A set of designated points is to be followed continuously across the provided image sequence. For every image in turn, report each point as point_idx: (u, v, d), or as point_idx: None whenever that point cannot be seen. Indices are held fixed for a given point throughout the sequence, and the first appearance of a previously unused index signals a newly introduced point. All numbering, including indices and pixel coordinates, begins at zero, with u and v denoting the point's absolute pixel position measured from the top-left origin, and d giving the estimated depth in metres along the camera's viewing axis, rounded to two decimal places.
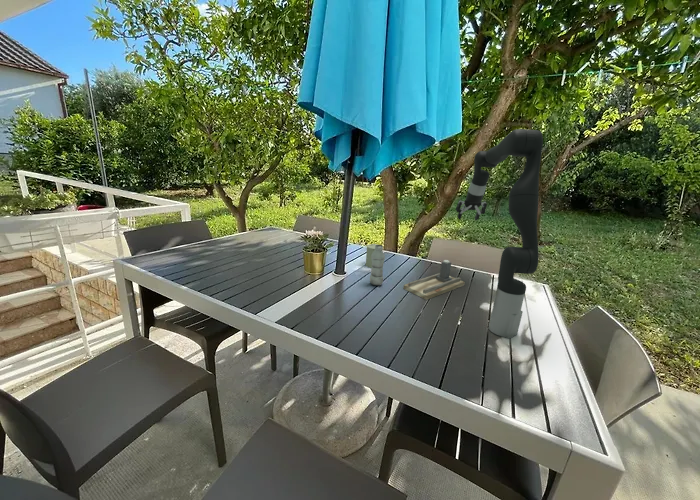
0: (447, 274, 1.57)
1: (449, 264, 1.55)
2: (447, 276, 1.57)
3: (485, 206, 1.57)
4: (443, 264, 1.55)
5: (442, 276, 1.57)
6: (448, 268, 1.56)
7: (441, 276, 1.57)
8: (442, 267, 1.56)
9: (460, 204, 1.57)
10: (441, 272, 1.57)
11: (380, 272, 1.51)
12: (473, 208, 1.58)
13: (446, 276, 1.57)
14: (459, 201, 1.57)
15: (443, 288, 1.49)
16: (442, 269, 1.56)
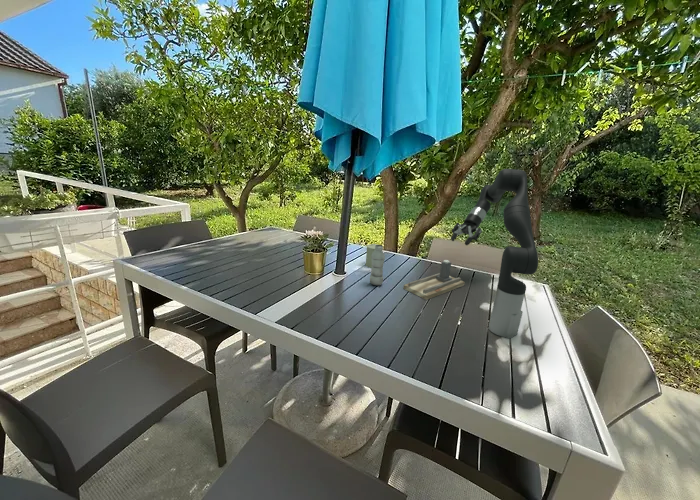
0: (447, 274, 1.57)
1: (449, 264, 1.55)
2: (447, 276, 1.57)
3: (478, 230, 1.55)
4: (443, 264, 1.55)
5: (442, 276, 1.57)
6: (448, 268, 1.56)
7: (441, 276, 1.57)
8: (442, 267, 1.56)
9: (456, 224, 1.64)
10: (441, 272, 1.57)
11: (380, 272, 1.51)
12: (467, 230, 1.59)
13: (446, 276, 1.57)
14: None
15: (443, 288, 1.49)
16: (442, 269, 1.56)
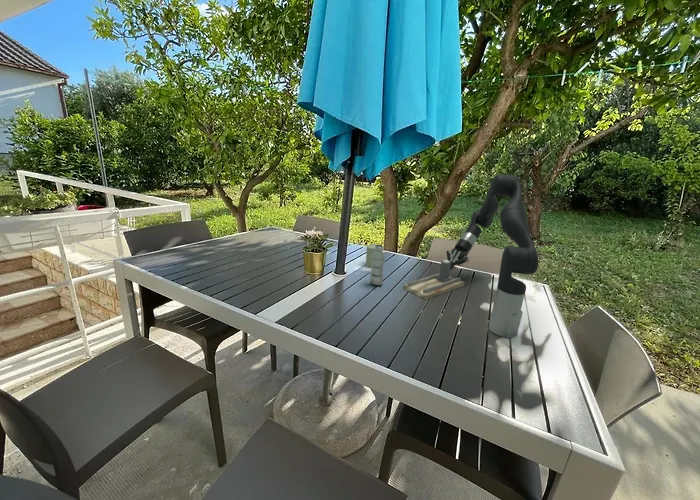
0: (447, 274, 1.57)
1: (449, 264, 1.55)
2: (447, 276, 1.57)
3: (464, 258, 1.56)
4: (443, 265, 1.55)
5: (442, 276, 1.57)
6: (448, 268, 1.56)
7: (441, 276, 1.57)
8: (442, 267, 1.56)
9: (447, 252, 1.63)
10: (441, 272, 1.57)
11: (380, 272, 1.51)
12: (456, 254, 1.60)
13: (446, 276, 1.57)
14: (447, 252, 1.65)
15: (443, 288, 1.49)
16: (442, 269, 1.56)
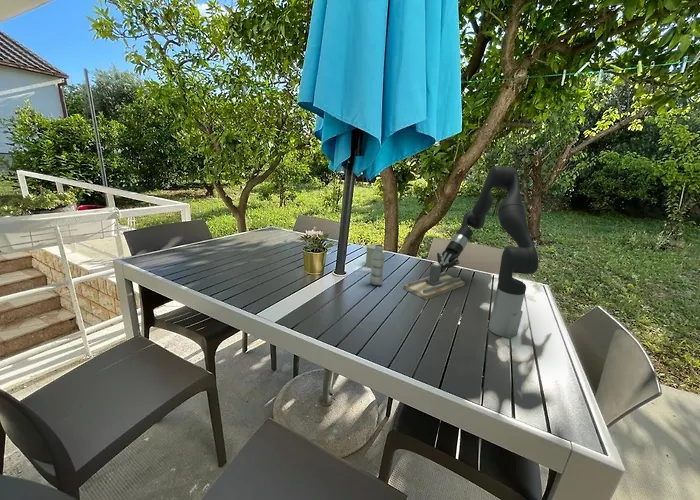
0: (437, 277, 1.52)
1: (439, 267, 1.51)
2: (437, 279, 1.53)
3: (455, 261, 1.51)
4: (433, 267, 1.50)
5: (432, 279, 1.52)
6: (438, 271, 1.51)
7: (431, 279, 1.52)
8: (432, 270, 1.51)
9: (438, 254, 1.59)
10: (431, 275, 1.52)
11: (380, 272, 1.51)
12: (447, 256, 1.55)
13: (436, 279, 1.52)
14: None
15: (443, 288, 1.49)
16: (432, 272, 1.51)
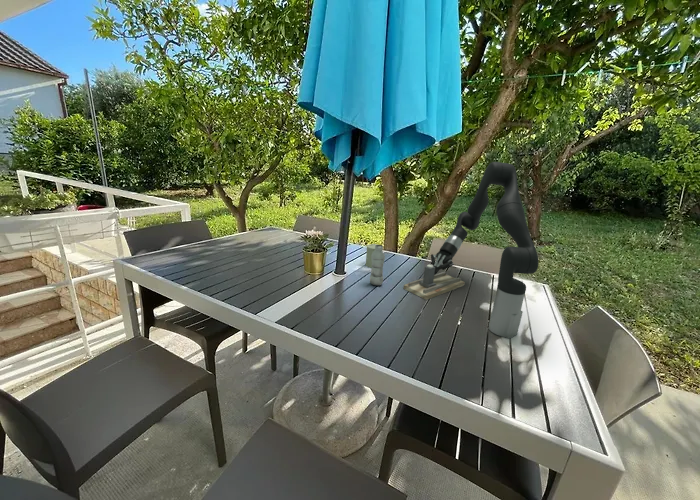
0: (431, 279, 1.49)
1: (433, 269, 1.48)
2: (431, 281, 1.50)
3: (449, 262, 1.48)
4: (426, 269, 1.48)
5: (425, 281, 1.49)
6: (432, 273, 1.48)
7: (424, 281, 1.50)
8: (425, 272, 1.48)
9: (432, 256, 1.56)
10: (424, 277, 1.49)
11: (380, 272, 1.51)
12: (441, 258, 1.52)
13: (430, 281, 1.49)
14: None
15: (443, 288, 1.49)
16: (426, 274, 1.48)
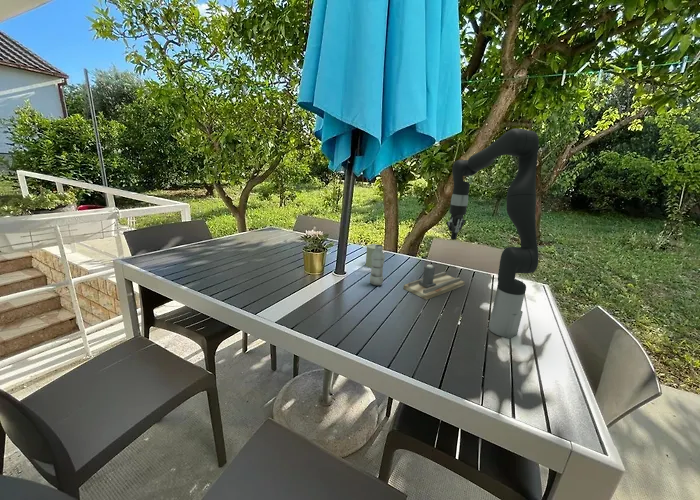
0: (431, 279, 1.49)
1: (432, 269, 1.48)
2: (431, 281, 1.50)
3: None
4: (426, 269, 1.47)
5: (425, 281, 1.49)
6: (431, 273, 1.48)
7: (424, 281, 1.49)
8: (425, 272, 1.48)
9: (452, 224, 1.46)
10: (424, 277, 1.49)
11: (380, 272, 1.51)
12: None
13: (429, 281, 1.49)
14: (448, 223, 1.46)
15: (443, 288, 1.49)
16: (425, 274, 1.48)
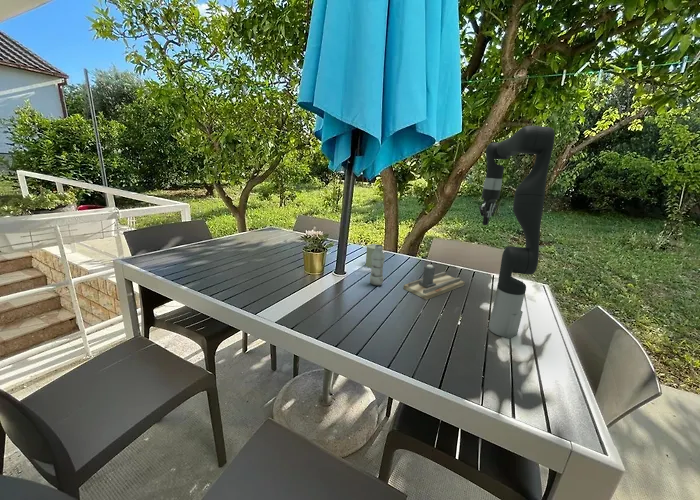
0: (431, 279, 1.49)
1: (432, 269, 1.48)
2: (431, 281, 1.50)
3: (496, 208, 1.49)
4: (426, 269, 1.47)
5: (425, 281, 1.49)
6: (431, 273, 1.48)
7: (424, 281, 1.49)
8: (425, 272, 1.48)
9: (485, 208, 1.43)
10: (424, 277, 1.49)
11: (380, 272, 1.51)
12: None
13: (429, 281, 1.49)
14: (481, 207, 1.43)
15: (443, 288, 1.49)
16: (425, 274, 1.48)
